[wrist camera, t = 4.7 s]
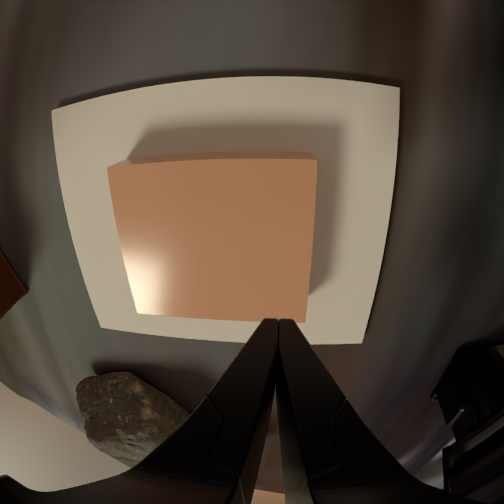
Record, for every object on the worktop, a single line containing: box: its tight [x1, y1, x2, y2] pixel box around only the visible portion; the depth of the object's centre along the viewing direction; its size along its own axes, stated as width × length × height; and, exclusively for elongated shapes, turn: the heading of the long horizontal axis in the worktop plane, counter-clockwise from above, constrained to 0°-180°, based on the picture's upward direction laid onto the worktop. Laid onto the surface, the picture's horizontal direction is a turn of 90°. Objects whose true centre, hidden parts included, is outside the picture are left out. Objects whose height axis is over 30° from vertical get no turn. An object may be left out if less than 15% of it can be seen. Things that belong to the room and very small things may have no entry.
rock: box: [76, 372, 189, 468], centre depth 22 cm, size 17×7×10 cm
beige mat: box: [51, 76, 400, 344], centre depth 15 cm, size 18×15×1 cm
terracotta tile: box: [107, 151, 317, 323], centre depth 14 cm, size 2×8×9 cm
